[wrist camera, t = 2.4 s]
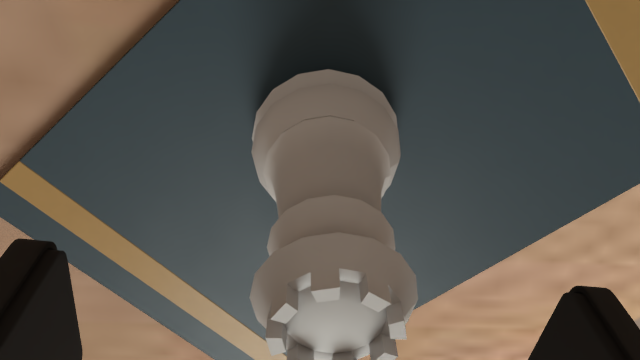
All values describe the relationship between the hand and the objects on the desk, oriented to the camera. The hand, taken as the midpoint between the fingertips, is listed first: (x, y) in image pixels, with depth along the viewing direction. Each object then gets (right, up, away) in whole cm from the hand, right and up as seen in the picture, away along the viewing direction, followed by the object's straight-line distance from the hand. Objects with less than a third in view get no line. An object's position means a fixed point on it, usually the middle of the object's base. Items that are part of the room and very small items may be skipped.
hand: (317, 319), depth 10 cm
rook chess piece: (0, +4, +6) cm, 8 cm away
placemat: (+1, +3, +7) cm, 8 cm away
